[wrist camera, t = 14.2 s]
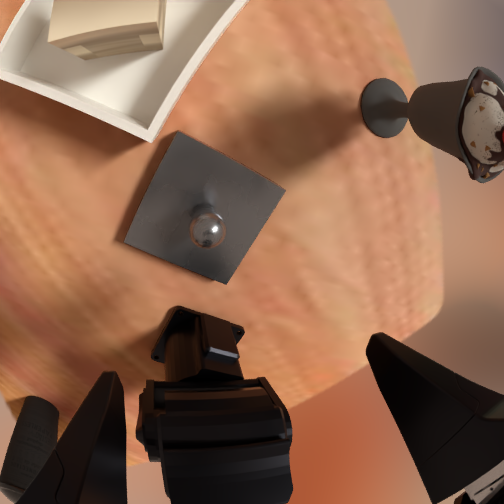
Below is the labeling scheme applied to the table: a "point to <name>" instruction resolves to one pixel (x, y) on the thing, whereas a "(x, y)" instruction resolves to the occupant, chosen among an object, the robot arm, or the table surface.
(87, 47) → the socket block
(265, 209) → the stud plate
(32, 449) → the drinking cup
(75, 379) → the table surface
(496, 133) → the sundae
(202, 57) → the bin
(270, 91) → the table surface
